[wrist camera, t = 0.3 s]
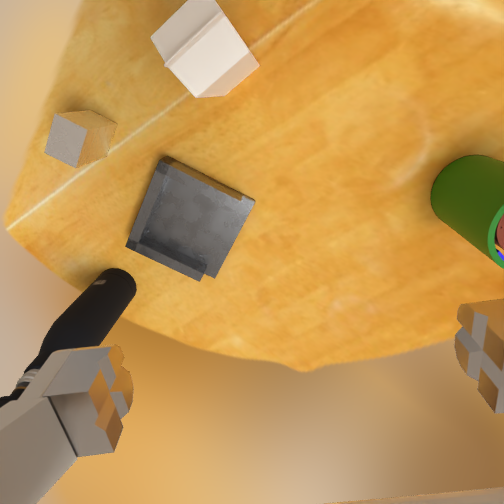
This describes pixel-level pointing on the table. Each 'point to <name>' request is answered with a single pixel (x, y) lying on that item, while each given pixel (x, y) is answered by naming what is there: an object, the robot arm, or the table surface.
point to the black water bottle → (83, 322)
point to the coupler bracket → (188, 220)
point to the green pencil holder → (473, 202)
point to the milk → (204, 49)
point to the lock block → (80, 137)
